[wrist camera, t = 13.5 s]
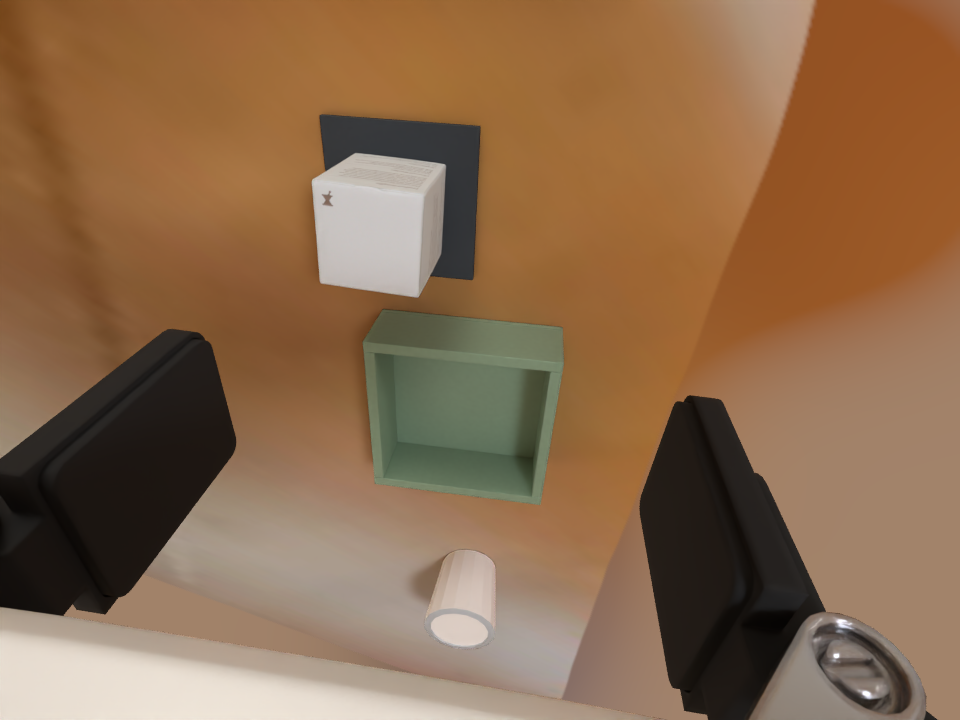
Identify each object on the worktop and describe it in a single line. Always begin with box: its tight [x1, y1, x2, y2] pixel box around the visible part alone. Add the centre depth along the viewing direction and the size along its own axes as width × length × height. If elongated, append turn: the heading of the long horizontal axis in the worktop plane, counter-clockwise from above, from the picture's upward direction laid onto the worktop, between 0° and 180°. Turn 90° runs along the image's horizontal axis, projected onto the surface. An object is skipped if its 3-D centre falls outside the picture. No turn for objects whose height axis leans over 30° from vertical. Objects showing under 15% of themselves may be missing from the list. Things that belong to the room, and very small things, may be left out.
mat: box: [320, 114, 480, 280], centre depth 34 cm, size 10×10×1 cm
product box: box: [312, 153, 446, 298], centre depth 31 cm, size 6×6×7 cm
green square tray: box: [363, 309, 564, 505], centre depth 40 cm, size 14×14×5 cm
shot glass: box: [425, 549, 495, 650], centre depth 51 cm, size 7×7×7 cm
